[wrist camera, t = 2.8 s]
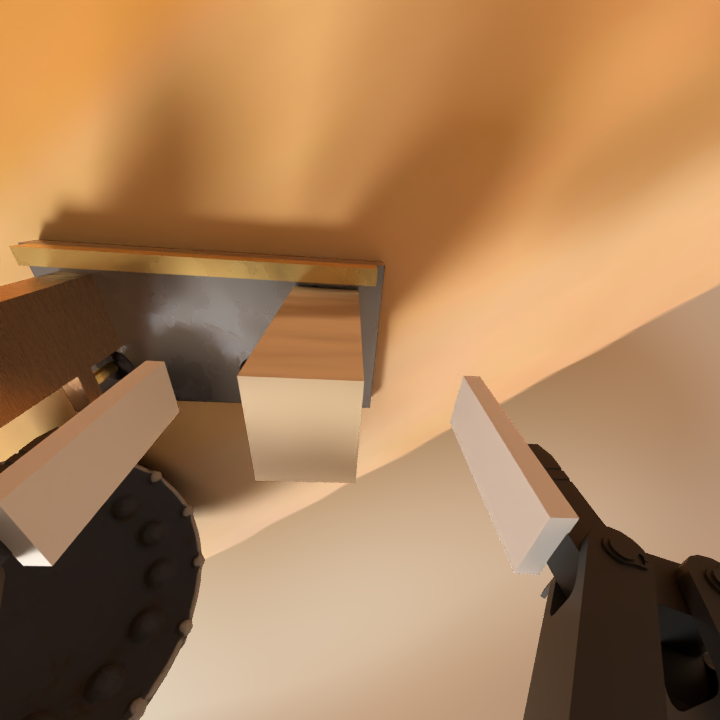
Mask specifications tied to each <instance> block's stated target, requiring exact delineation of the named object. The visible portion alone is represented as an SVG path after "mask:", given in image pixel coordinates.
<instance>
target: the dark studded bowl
mask: <svg viewBox="0 0 720 720" xmlns="http://www.w3.org/2000/svg"><path fill="white" fill-rule="evenodd" d="M4 462H5V461H3V462H0V465H3V464H4ZM204 561H205V559H204V557H203V555H202V553H201V544H200V538H199V533H198V529H197V526H196V522H195V519H194V516H193V507H192V506H191V505H188V504H187V503H186V501H185V500H184V499H183V498H182V496H181V495H180V494H179V492H178V491H177V490H176V489H175V488H174V487H173V486H172V485H171V484H169V483H168V482H167V481H166V480H165V479H164V478H163V477H162V474H161V472H159V471H154V470H152V469H147V468H145V467H143V466H141V465H138V464H136V465H135V466H134V468H133V469H132V470H131V471H130V473H129V474H128V475H127V476H126V477H125V479H124V480H123V481H122V482H121V483H120V485H119V486H118V487H117V488H116V490H115V491H114V492H113V493H112V494H111V496H110V497H109V498H108V499H107V500H106V502H105V503H104V504H103V505H102V506H101V508H100V509H99V510H98V511H97V513H96V514H95V515H94V516H93V517H92V519H91V520H90V521H89V522H88V523H87V525H86V526H85V527H84V528H83V530H82V531H81V532H80V533H79V534H78V536H77V537H76V538H75V539H74V540H73V542H72V543H71V544H70V545H69V547H68V548H67V549H66V550H65V551H64V553H63V554H62V555H61V556H60V557H59V559H58V560H57V561H56V562H55V564H54V565H53V566H23V565H22V564H21V563H20V562H19V561H18V560H17V559H16V558H15V557H14V556H13V555H12V554H11V555H10V556H9V557H8V558H7V559H6V561H5V562H4V563H3V564H2V565H1V566H2V567H3V568H4V572H5V580H4V587H3V594H2V601H1V608H0V720H139V719H140V718H141V717H142V716H143V714H144V712H145V709H146V706H147V705H148V703H149V702H150V701H151V699H152V698H153V696H154V694H155V693H156V691H157V689H158V688H159V686H160V685H161V683H162V682H163V680H164V678H165V677H166V675H167V673H168V671H169V670H170V668H171V666H172V664H173V662H174V660H175V658H176V656H177V654H178V652H179V650H180V649H181V648H182V646H183V645H184V644H185V641H186V638H187V635H188V634H189V633H190V631H191V629H192V626H193V625H192V617H193V614H194V610H195V606H196V602H197V598H198V593H199V587H200V581H201V569H202V566H203V564H204Z"/></svg>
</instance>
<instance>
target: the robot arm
mask: <svg viewBox="0 0 720 720" xmlns="http://www.w3.org/2000/svg"><path fill="white" fill-rule="evenodd" d="M179 412H180V411H179V408H178V405H177V401H176V398H175V395H174V391H173V388H172V385H171V382H170V378H169V375H168V372H167V368H166V365H165V362H164V361H145V362H144V363H142V364H141V365H140V366H138V367H137V368H136V369H135V370H133V371H132V372H131V373H129V374H128V375H127V376H125V377H124V378H123V379H122V380H120V381H119V382H118V383H116V384H115V385H114V386H113V387H111V388H110V389H109V390H107V391H106V392H105V393H104V394H102V395H101V396H100V397H98V398H97V399H96V400H95V401H93V402H92V403H91V404H89V405H88V406H87V407H85V408H84V409H83V410H82V411H80V412H79V413H78V414H76V415H75V416H74V417H73V418H71V419H70V420H69V421H67V422H66V423H65V424H64V425H62V426H61V427H56V428H55V429H53V430H51V431H49V432H47V433H45V434H43V435H41V436H39V437H37V438H35V439H34V440H33V441H31V442H30V443H29V444H27V445H26V446H25V447H23V448H22V449H21V450H19V453H18V454H14V455H13V456H11V457H10V458H9V459H7V460H6V461H5V462H4V464H3V465H0V608H1V601H2V594H3V587H4V580H5V572H4V568H3V567H2V566H1V565H2V564H3V563H4V562H5V561H6V559H7V558H8V557H9V556H10V555H11V554H12V555H13V556H14V557H15V558H16V559H17V560H18V561H19V562H20V563H21V564H22V565H23V566H53V565H54V564H55V562H56V561H57V560H58V559H59V557H60V556H61V555H62V554H63V553H64V551H65V550H66V549H67V548H68V547H69V545H70V544H71V543H72V542H73V540H74V539H75V538H76V537H77V536H78V534H79V533H80V532H81V531H82V530H83V528H84V527H85V526H86V525H87V523H88V522H89V521H90V520H91V519H92V517H93V516H94V515H95V514H96V513H97V511H98V510H99V509H100V508H101V506H102V505H103V504H104V503H105V502H106V500H107V499H108V498H109V497H110V496H111V494H112V493H113V492H114V491H115V490H116V488H117V487H118V486H119V485H120V483H121V482H122V481H123V480H124V479H125V477H126V476H127V475H128V474H129V473H130V471H131V470H132V469H133V468H134V466H135V465H136V464H137V463H138V462H139V460H140V459H141V458H142V457H143V456H144V454H145V453H146V452H147V451H148V449H149V448H150V447H151V446H152V445H153V443H154V442H155V441H156V440H157V439H158V437H159V436H160V435H161V434H162V432H163V431H164V430H165V429H166V428H167V426H168V425H169V424H170V423H171V422H172V420H173V419H174V418H175V417H176V415H177V414H178V413H179ZM450 424H451V426H452V428H453V431H454V433H455V435H456V438H457V440H458V443H459V445H460V447H461V450H462V452H463V454H464V457H465V459H466V461H467V463H468V466H469V469H470V471H471V473H472V476H473V478H474V480H475V483H476V485H477V487H478V490H479V492H480V494H481V497H482V499H483V501H484V504H485V506H486V509H487V511H488V513H489V516H490V518H491V520H492V523H493V525H494V527H495V530H496V532H497V534H498V537H499V539H500V542H501V544H502V546H503V549H504V551H505V553H506V556H507V558H508V560H509V563H510V565H511V567H512V570H513V572H514V574H540V572H541V571H542V570H543V568H544V567H545V566H546V564H548V566H549V568H550V570H551V572H552V573H553V575H554V577H553V579H552V580H551V581H550V583H549V584H548V585H547V586H546V588H545V589H544V591H543V592H542V594H541V596H542V597H543V598H546V596H547V595H548V598H547V603H546V608H545V613H544V618H543V623H542V628H541V633H540V638H539V643H538V648H537V653H536V658H535V663H534V668H533V673H532V678H531V683H530V688H529V693H528V698H527V703H526V708H525V714H524V719H523V720H720V563H719V562H717V561H715V560H713V559H711V558H708V557H704V556H700V555H695V556H690V557H688V558H687V559H686V560H685V561H684V562H683V563H682V564H678V563H675V562H672V561H669V560H666V559H663V558H660V557H657V556H654V555H650V554H648V553H645V552H644V550H643V549H642V548H641V547H640V546H639V545H638V544H636V543H635V542H634V541H633V540H632V539H631V538H629V537H627V536H626V535H624V534H623V533H622V532H620V531H617V530H615V529H613V528H610V527H606V525H605V524H604V523H603V522H602V521H601V519H600V518H599V517H598V516H597V514H596V513H595V512H594V510H593V509H592V508H591V506H590V505H589V504H588V503H587V501H586V500H585V499H584V497H583V496H582V495H581V493H580V492H579V491H578V489H577V488H576V487H575V485H574V484H573V483H572V482H570V480H569V478H568V476H567V475H566V474H565V473H564V471H562V470H561V467H560V466H559V465H558V463H557V462H556V461H555V459H554V458H553V457H552V456H551V455H550V454H549V453H548V452H546V451H545V450H544V449H543V448H542V447H540V446H539V445H538V444H527V443H526V442H525V441H524V439H523V437H522V436H521V435H520V433H519V432H518V430H517V429H516V427H515V426H514V425H513V423H512V422H511V420H510V419H509V418H508V416H507V415H506V413H505V412H504V410H503V409H502V407H501V406H500V405H499V403H498V402H497V400H496V399H495V397H494V396H493V395H492V393H491V392H490V390H489V389H488V388H487V386H486V385H485V383H484V382H483V380H482V379H481V378H480V377H477V376H463V378H462V382H461V386H460V389H459V393H458V396H457V400H456V403H455V407H454V410H453V414H452V417H451V421H450Z"/></svg>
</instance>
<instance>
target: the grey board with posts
mask: <svg viewBox="0 0 720 720" xmlns="http://www.w3.org/2000/svg"><path fill="white" fill-rule="evenodd" d="M18 244H19V245H14V246H9V247H10V249H11V251H12V253H13V255H14V257H15V259H16V261H17V263H18V265H23V266H30V268H31V270H32V272H33V274H34V276H35V277H34V278H31V279H27V280H23V281H19V282H16V283H12V284H8V285H4V286H0V428H1V427H3V426H4V425H6V424H7V423H9V422H10V421H12V420H13V419H15V418H16V417H18V416H19V415H21V414H22V413H24V412H25V411H27V410H28V409H30V408H31V407H33V406H34V405H36V404H37V403H39V402H40V401H42V400H43V399H45V398H46V397H48V396H49V395H51V394H52V393H54V392H55V391H57V390H58V389H60V388H61V387H63V389H64V391H65V393H66V394H67V396H68V398H69V400H70V402H71V403H72V405H73V407H74V409H75V411H76V412H80V411H82V410H83V409H84V408H85V407H87V406H88V405H89V404H91V403H92V402H93V401H95V400H96V399H97V398H98V397H100V396H101V395H102V394H104V393H105V392H106V391H107V390H109V389H110V388H111V387H113V386H114V385H115V384H116V383H118V382H119V381H120V380H122V379H123V378H124V377H125V376H127V375H128V374H129V373H131V372H132V371H133V370H135V369H136V368H137V367H138V366H140V365H141V364H142V363H144V362H145V361H164V362H165V365H166V368H167V372H168V375H169V378H170V382H171V385H172V388H173V391H174V395H175V398H176V401H203V402H230V403H242V401H241V396H240V390H239V384H238V379H237V375H238V374H239V372H240V370H241V369H242V367H243V366H244V364H245V363H246V361H247V359H248V358H249V356H250V355H251V353H252V351H253V350H254V348H255V347H256V345H257V344H258V342H259V340H260V339H261V337H262V336H263V334H264V332H265V331H266V329H267V328H268V326H269V325H270V323H271V321H272V320H273V318H274V317H275V315H276V313H277V312H278V310H279V309H280V307H281V306H282V304H283V302H284V301H285V299H286V298H287V296H288V294H289V293H290V291H291V290H292V288H293V287H310V288H327V289H345V290H359V305H360V321H361V338H362V354H363V370H364V389H363V401H362V407H364V408H370V401H371V391H372V382H373V372H374V363H375V353H376V344H377V334H378V325H379V315H380V306H381V297H382V287H383V278H384V268H385V265H384V263H383V262H377V261H361V260H346V259H330V258H314V257H299V256H283V255H267V254H252V253H236V252H220V251H205V250H189V249H173V248H158V247H142V246H126V245H111V244H95V243H79V242H64V241H48V240H33V241H27V242H20V243H18Z"/></svg>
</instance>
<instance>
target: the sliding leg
mask: <svg viewBox="0 0 720 720" xmlns="http://www.w3.org/2000/svg"><path fill="white" fill-rule="evenodd" d="M237 379H238V384H239V390H240V396H241V401H242V407H243V413H244V418H245V424H246V430H247V436H248V441H249V447H250V453H251V458H252V464H253V470H254V475H255V481H296V482H338V483H355V480H356V469H357V457H358V446H359V435H360V423H361V412H362V401H363V389H364V370H363V354H362V338H361V321H360V305H359V290H345V289H327V288H310V287H293V288H292V290H291V291H290V293H289V294H288V296H287V298H286V299H285V301H284V302H283V304H282V306H281V307H280V309H279V310H278V312H277V313H276V315H275V317H274V318H273V320H272V321H271V323H270V325H269V326H268V328H267V329H266V331H265V332H264V334H263V336H262V337H261V339H260V340H259V342H258V344H257V345H256V347H255V348H254V350H253V351H252V353H251V355H250V356H249V358H248V359H247V361H246V363H245V364H244V366H243V367H242V369H241V370H240V372H239V374H238V375H237Z"/></svg>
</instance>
